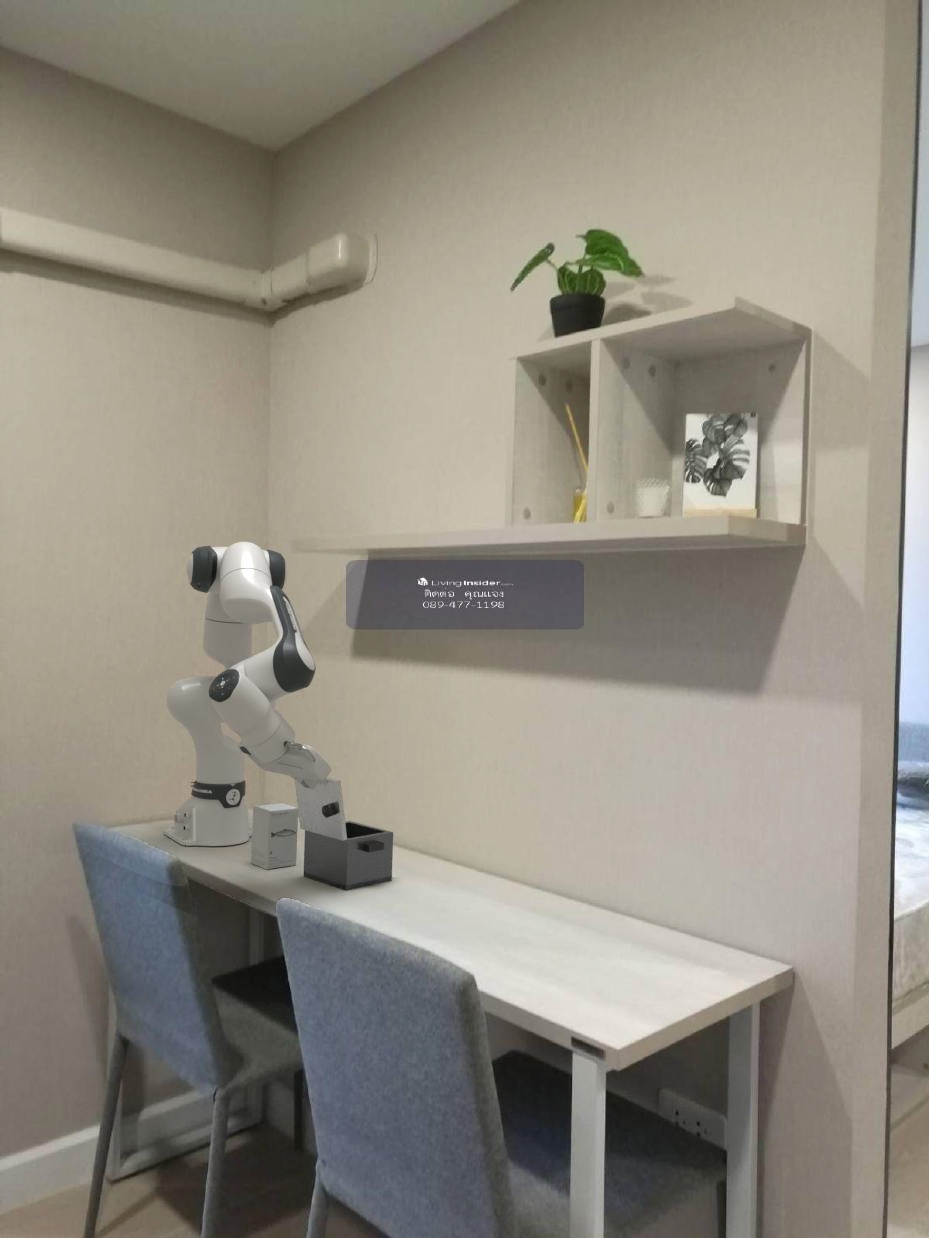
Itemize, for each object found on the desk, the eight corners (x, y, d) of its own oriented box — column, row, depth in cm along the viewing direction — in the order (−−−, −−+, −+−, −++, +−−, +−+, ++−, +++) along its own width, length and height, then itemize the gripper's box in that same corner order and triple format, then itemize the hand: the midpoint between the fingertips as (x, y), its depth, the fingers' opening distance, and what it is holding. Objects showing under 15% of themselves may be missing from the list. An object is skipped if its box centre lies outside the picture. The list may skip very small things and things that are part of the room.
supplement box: (266, 870, 208) (268, 810, 208) (250, 863, 214) (252, 804, 214) (297, 865, 213) (299, 807, 213) (280, 858, 219) (282, 801, 219)
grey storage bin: (298, 874, 206) (299, 826, 206) (343, 865, 214) (344, 819, 214) (352, 892, 194) (353, 841, 194) (397, 882, 202) (399, 833, 202)
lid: (304, 827, 204) (294, 830, 203) (297, 771, 203) (287, 774, 201) (347, 839, 195) (336, 843, 193) (340, 780, 193) (330, 783, 191)
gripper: (314, 732, 184) (353, 780, 191) (252, 722, 198) (290, 767, 205) (293, 758, 181) (334, 806, 188) (232, 746, 195) (271, 790, 202)
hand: (310, 785), depth 197 cm, fingers closed
